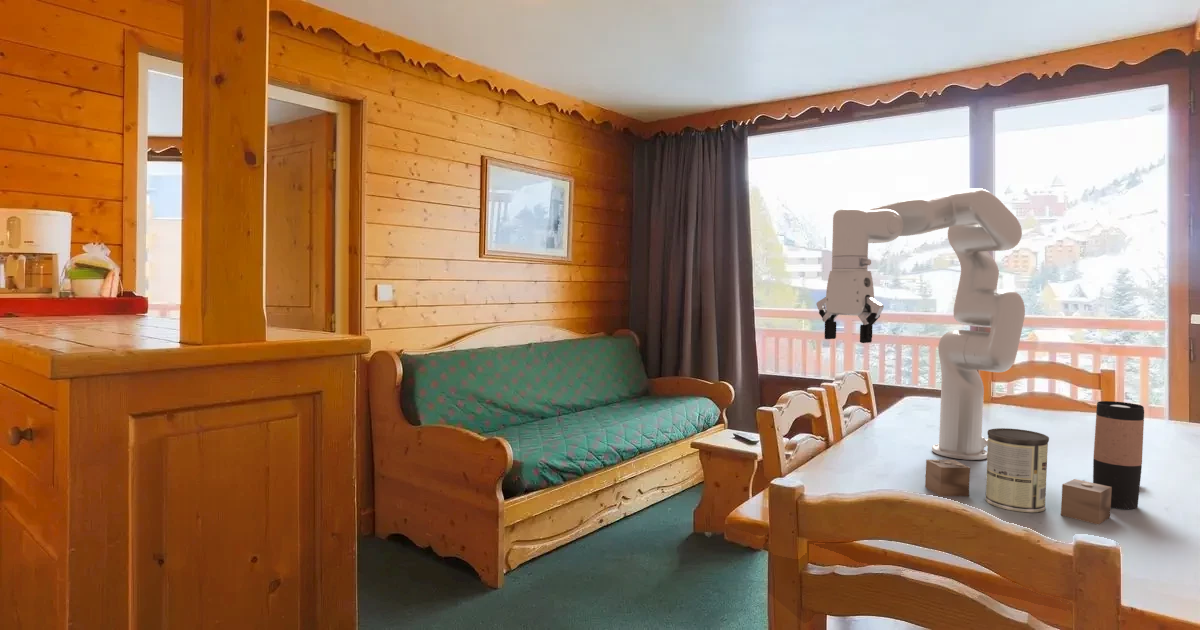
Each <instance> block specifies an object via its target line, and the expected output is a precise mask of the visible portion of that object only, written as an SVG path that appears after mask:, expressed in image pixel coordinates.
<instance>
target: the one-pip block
mask: <svg viewBox="0 0 1200 630" xmlns="http://www.w3.org/2000/svg"><path fill="white" fill-rule="evenodd" d="M1111 493H1112V487H1110V486H1105V485H1100V484H1096V483H1093V482H1090V481H1085V480H1080V479H1077V478H1074V479H1071V480H1069V481H1066V482H1064V483H1062V485H1061V500H1060V501H1061V503H1060V505H1061V506H1060V516H1064V517H1067V518H1069V519H1076V520H1078V521H1083V522H1087V523H1091V524H1095V525H1098V526H1099V525H1100V524H1102V523H1104V522H1106V521H1107V520H1109V519H1111V509H1112V508H1111Z"/></svg>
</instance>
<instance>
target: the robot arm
mask: <svg viewBox="0 0 1200 630" xmlns="http://www.w3.org/2000/svg"><path fill="white" fill-rule="evenodd" d="M832 216H833V217H832V242H831V243H832V249H831V250H832V251H831V256H832V257H831V270H830V271H829V274H828V279H827V283H826V284H827V286H826V295H825V297H824V298H822V299H820V300H818V301H817V302H816V306H817V307H816V308H817V311H818V314H819V315H820V317H821V320H822V321H823V322H824V340H834V339H836V338H837V321H835V320H836V318H837V317H838V316H839V315H840V316H842V315H843V316H857V317H858V318H859V320H860V322H861V323H862V324H860V326H859V343H861V344H870V343H872V342H873V339H872V338H873V325H875V324H876V322H877V321H878V319H880V317H881V314H882V312H883V310H884V304H882V303H881V302H879V301H877V300H876V299H875V294H874V293H875V289H874V281H873V276H872V272H871V270H868V266H871V264H872V260H871V259H870V258H868V257H869V244H880V243H881V244H884V243H889V242H892V241H895V240H896V239H897V238H899V237H907V236H916V235H917V236H918V235H922V234H927V233H930V232H931V233H932V232H933V231H937V230H942V229H947V228H948V229H947V239H948V242H949V243H948V244H949V245H950V247H951V248H952V250H953V252H954V253H955V255H956V257H957V259H958V261H959V264H960V276H959V280H958V284H957V285H958V287H957V290H956V295H955V300H954V305H953V317H954V320H955V321H956V322H957V323H959V324H961V325H964V326H971V327H982V328H990V332H988V331H987V332H986V331H979V330H967V329H965V330H964V329H955V330H954V329H953V330H950V331H947V332H946V333H944V334H943V335H942V336H941V337H940V340H939V342H938V345H937V346H938V347H937V349H938V356H939V362H940V363H939V364H940V370H941V372H940V373H941V375H940V376H941V383H940V385H941V389H940V391H941V392H940V413H939V435H938V436H939V437H938V443H936V444H933V445H932V446H931V451H932V452H933V453H934V454H936V455H939V456H942V457H945V458H946V457H947V458H951V459H955V460H957V459H958V460H967V461H969V460H970V461H980V460H981V461H982V460H985V459H986V460H987V450H985V448H986V447H988V438H985V437H984V436H983V415H984V414H983V412H984V411H983V410H984V393H985V389H984V388H985V386H984V382H983V379H982V377H981V375H980V373H979V371H984V372H991V373H1004V372H1007V371H1008V370H1010V369H1011V368H1012V366H1013V365H1014V363H1015V361H1016V358H1017V355H1018V351H1019V345H1020V340H1021V336H1022V331H1023V326H1024V321H1025V314H1026V310H1025V309H1026V308H1025V302H1024V299H1023V298H1022V296H1021V295H1020V294H1019V293H1018V292H1016V291H1014V290H1011V289H999V288H998V287H997V286H998V282H999V277H1000V276H999V275H1000V271H999V270H1000V269H999V267H998V264H997V262H996V260H995V259H994V257H993V256H992V255H991V254H990V252H998V251H999V252H1001V251H1002V252H1003V251H1004V252H1005V251H1009V250H1012V249H1014V248H1015V247H1017V245H1019V243H1020V241H1021V238H1022V235H1023V233H1022V232H1023V230H1022V226H1021V223H1020V222H1019V220H1018V218H1017V217H1016V216H1015V214H1013V212H1012V211H1011V210H1010V209H1009V208H1007V206H1006V205H1005V204H1004V203H1003V202H1002V201H1001V200H1000V199H999V198H998V197H997V196H995V194H993V193H992V192H990V191H989V190H986V189H985V188H984V189H983V188H981V187H979V188H978V187H977V188H969V189H968V188H967V189H961V190H952V191H945V192H939V193H935V194H931V195H927V196H921V197H917V198H912V199H908V200H903V201H898V202H895V203H891V204H886V205H881V206H876V207H871V208H865V209H863V208H843V209H838V210H836V211H835V212H834V213H833V215H832Z"/></svg>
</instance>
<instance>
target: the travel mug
mask: <svg viewBox="0 0 1200 630" xmlns="http://www.w3.org/2000/svg"><path fill="white" fill-rule="evenodd" d="M1095 414H1096V415H1095V429H1094V445H1093V462H1092V464H1093V466H1092V483H1096V484H1100V485H1105V486H1110V487H1112V493H1111V509H1117V510H1124V511H1128V510H1131V511H1132V510H1136V509H1138V507H1139V506H1138V505H1139V497H1140V489H1141V487H1140V486H1141V485H1140V484H1141V479H1142V477H1141V476H1142V465H1143V449H1144V448H1143V446H1144V430H1145V429H1144V424H1145V407H1144V405H1141V404H1138V403H1137V404H1136V403H1131V402H1125V401H1124V402H1123V401H1115V400H1114V401H1112V400H1101V401H1097V402H1096V413H1095Z"/></svg>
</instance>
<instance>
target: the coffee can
mask: <svg viewBox="0 0 1200 630" xmlns="http://www.w3.org/2000/svg"><path fill="white" fill-rule="evenodd" d="M987 439H988V446H987V449H986V451H987V458H986V479H985V480H986V484H985V498H984V500H985V502H986V503H988V504H989V505H991V506H994V507H996V508H999V509H1003V510H1007V511H1012V512H1019V513H1041V512H1044V511H1046V496H1047V491H1046V490H1047V476H1048V475H1047V469H1048V451H1049V450H1048V449H1049V448H1048V447H1049V441H1050V437H1049V436H1048V435H1046V434H1044V433H1041V432H1038V431H1037V432H1036V431H1032V430H1026V429H1018V428H1008V427H1007V428H1005V427H1004V428H1002V427H1001V428H999V427H998V428H991V429H988V430H987Z"/></svg>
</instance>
